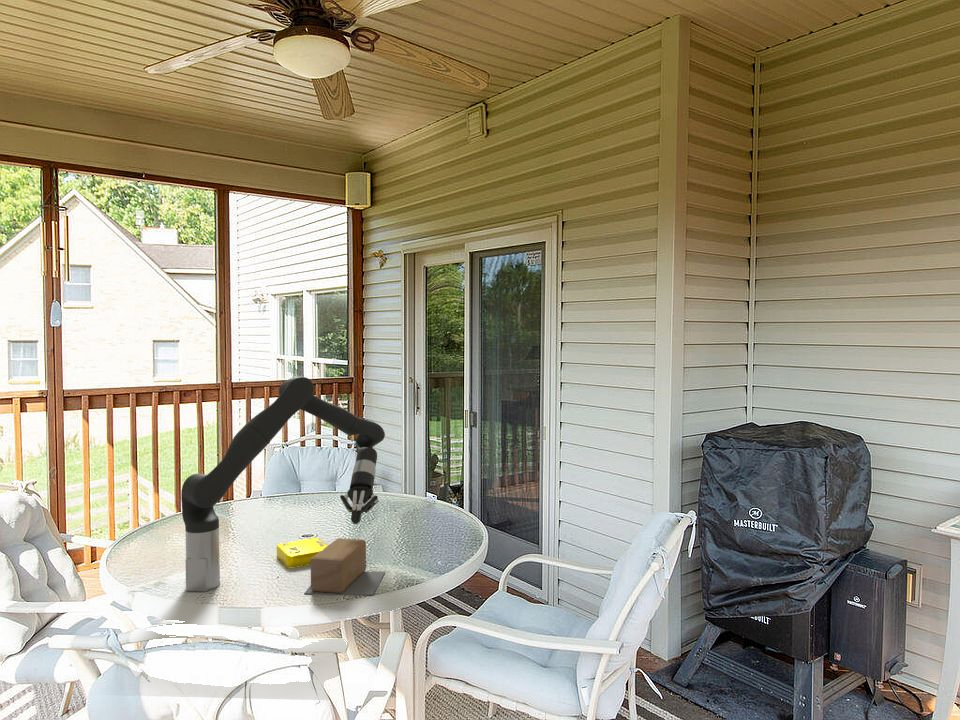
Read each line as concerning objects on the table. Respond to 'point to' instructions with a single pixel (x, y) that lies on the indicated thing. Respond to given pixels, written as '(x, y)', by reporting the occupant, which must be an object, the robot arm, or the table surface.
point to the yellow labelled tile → (299, 551)
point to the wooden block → (338, 565)
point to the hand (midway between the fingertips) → (355, 522)
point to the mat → (357, 585)
